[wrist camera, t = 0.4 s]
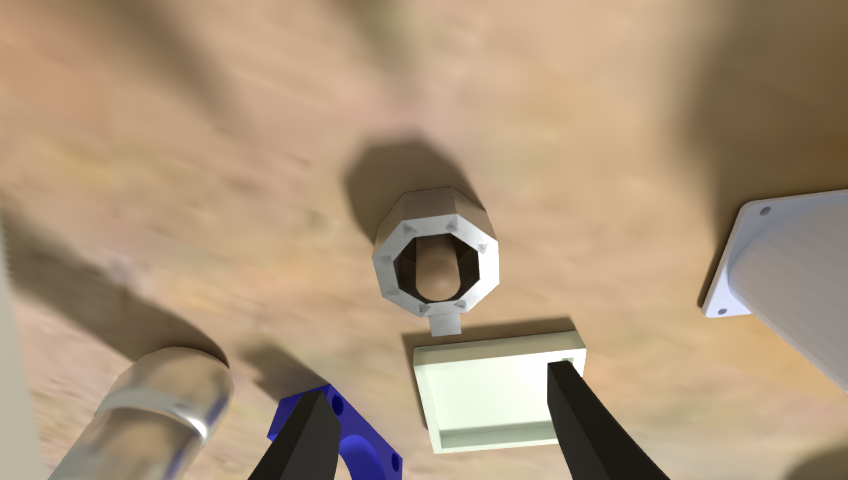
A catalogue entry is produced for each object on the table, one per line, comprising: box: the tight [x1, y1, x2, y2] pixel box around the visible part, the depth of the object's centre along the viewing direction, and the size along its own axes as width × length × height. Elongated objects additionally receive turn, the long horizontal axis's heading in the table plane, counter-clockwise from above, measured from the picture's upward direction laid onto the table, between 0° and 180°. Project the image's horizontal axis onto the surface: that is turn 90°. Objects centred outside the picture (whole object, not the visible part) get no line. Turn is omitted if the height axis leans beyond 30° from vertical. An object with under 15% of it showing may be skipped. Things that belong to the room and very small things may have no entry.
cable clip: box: [267, 384, 403, 480], centre depth 26 cm, size 12×4×6 cm, turn 25°
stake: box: [416, 233, 460, 301], centre depth 17 cm, size 2×2×4 cm
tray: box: [413, 331, 587, 454], centre depth 25 cm, size 11×11×2 cm
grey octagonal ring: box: [372, 187, 499, 337], centre depth 18 cm, size 6×7×3 cm
